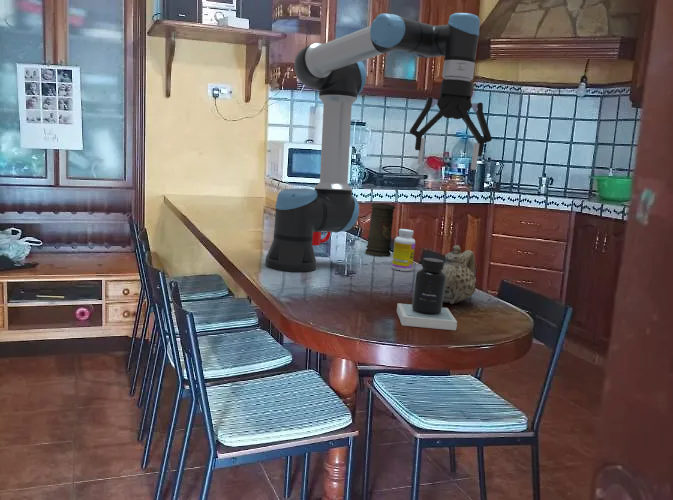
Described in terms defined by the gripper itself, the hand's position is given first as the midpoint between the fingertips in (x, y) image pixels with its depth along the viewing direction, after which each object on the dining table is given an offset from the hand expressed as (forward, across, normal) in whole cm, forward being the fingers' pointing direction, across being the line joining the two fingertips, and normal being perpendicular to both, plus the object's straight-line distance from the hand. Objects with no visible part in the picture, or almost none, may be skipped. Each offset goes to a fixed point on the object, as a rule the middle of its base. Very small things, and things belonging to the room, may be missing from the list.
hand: (446, 167), depth 164 cm
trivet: (+35, -4, -20) cm, 40 cm away
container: (+35, -9, +66) cm, 75 cm away
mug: (+35, -32, +77) cm, 90 cm away
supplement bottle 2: (+33, -4, -20) cm, 38 cm away
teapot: (+35, +6, +2) cm, 35 cm away
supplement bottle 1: (+35, -3, +41) cm, 54 cm away
